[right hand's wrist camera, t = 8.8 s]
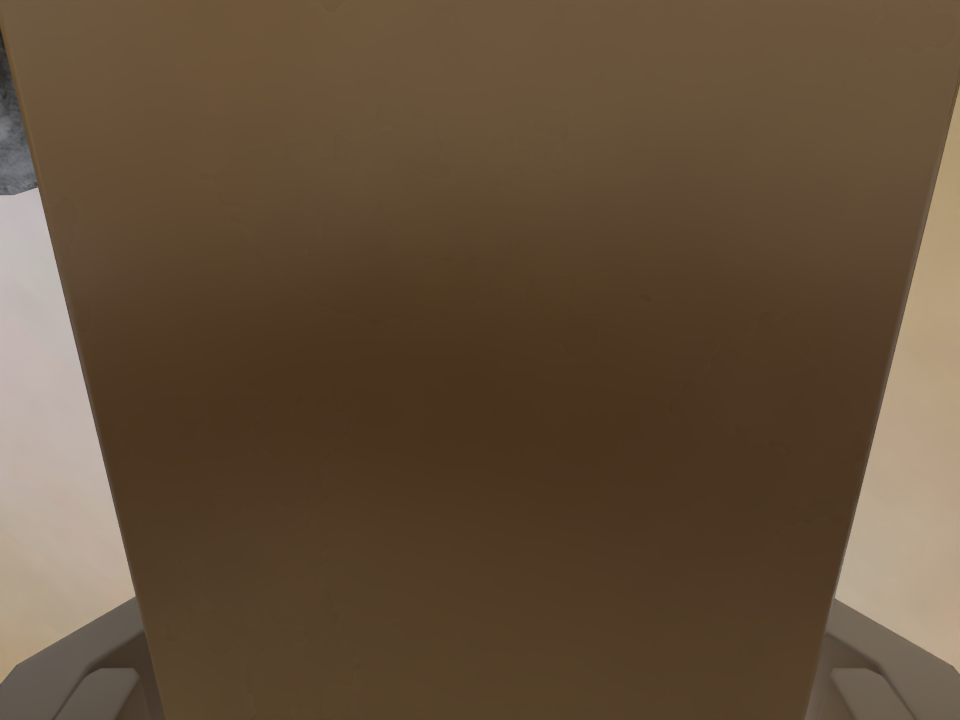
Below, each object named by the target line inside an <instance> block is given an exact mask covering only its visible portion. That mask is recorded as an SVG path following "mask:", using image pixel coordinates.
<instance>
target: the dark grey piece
mask: <svg viewBox="0 0 960 720" xmlns="http://www.w3.org/2000/svg"><path fill="white" fill-rule="evenodd" d="M37 187H38V184H37V179H36V175H35V171H34V167H33V163H32V159H31V154H30V150H29V146H28V142H27V138H26V133H25V129H24V125H23V121H22V117H21V112H20V108H19V104H18V100H17V96H16V91H15V87H14V83H13V79H12V75H11V71H10V66H9V62H8V58H7V54H6V50H5V45H4V41H3V37H2V33H1V29H0V195H15V194H18V193H21V192H25V191H28V190H31V189H34V188H37Z"/></svg>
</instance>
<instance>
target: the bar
mask: <svg viewBox="0 0 960 720" xmlns="http://www.w3.org/2000/svg"><path fill="white" fill-rule="evenodd" d="M0 29H1V33H2V37H3V41H4V45H5V50H6V54H7V58H8V62H9V66H10V71H11V75H12V79H13V83H14V87H15V91H16V96H17V100H18V104H19V108H20V112H21V117H22V121H23V125H24V129H25V133H26V138H27V142H28V146H29V150H30V154H31V159H32V163H33V167H34V171H35V175H36V179H37V184H38V188H39V192H40V196H41V200H42V205H43V209H44V213H45V217H46V221H47V226H48V230H49V234H50V238H51V242H52V247H53V251H54V255H55V259H56V263H57V267H58V272H59V276H60V280H61V284H62V288H63V293H64V297H65V301H66V305H67V309H68V314H69V318H70V322H71V326H72V330H73V335H74V339H75V343H76V347H77V351H78V355H79V360H80V364H81V368H82V372H83V376H84V381H85V385H86V389H87V393H88V397H89V402H90V406H91V410H92V414H93V418H94V423H95V427H96V431H97V435H98V439H99V443H100V448H101V452H102V456H103V460H104V464H105V469H106V473H107V477H108V481H109V485H110V490H111V494H112V498H113V502H114V506H115V511H116V515H117V519H118V523H119V527H120V531H121V536H122V540H123V544H124V548H125V552H126V557H127V561H128V565H129V569H130V573H131V578H132V582H133V586H134V590H135V594H136V599H137V603H138V607H139V611H140V615H141V620H142V624H143V628H144V632H145V636H146V640H147V645H148V649H149V653H150V657H151V661H152V666H153V670H154V674H155V678H156V682H157V687H158V691H159V695H160V699H161V703H162V708H163V712H164V716H165V720H805V716H806V712H807V708H808V704H809V700H810V696H811V691H812V687H813V683H814V679H815V675H816V671H817V667H818V663H819V659H820V655H821V651H822V646H823V642H824V638H825V634H826V630H827V626H828V622H829V618H830V614H831V610H832V605H833V601H834V597H835V593H836V589H837V585H838V581H839V577H840V573H841V569H842V565H843V560H844V556H845V552H846V548H847V544H848V540H849V536H850V532H851V528H852V524H853V519H854V515H855V511H856V507H857V503H858V499H859V495H860V491H861V487H862V483H863V478H864V474H865V470H866V466H867V462H868V458H869V454H870V450H871V446H872V442H873V438H874V433H875V429H876V425H877V421H878V417H879V413H880V409H881V405H882V401H883V397H884V392H885V388H886V384H887V380H888V376H889V372H890V368H891V364H892V360H893V356H894V352H895V347H896V343H897V339H898V335H899V331H900V327H901V323H902V319H903V315H904V311H905V306H906V302H907V298H908V294H909V290H910V286H911V282H912V278H913V274H914V270H915V266H916V261H917V257H918V253H919V249H920V245H921V241H922V237H923V233H924V229H925V225H926V220H927V216H928V212H929V208H930V204H931V200H932V196H933V192H934V188H935V184H936V180H937V175H938V171H939V167H940V163H941V159H942V155H943V151H944V147H945V143H946V139H947V134H948V130H949V126H950V122H951V118H952V114H953V110H954V106H955V102H956V98H957V93H958V89H959V85H960V0H0Z"/></svg>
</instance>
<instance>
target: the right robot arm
mask: <svg viewBox="0 0 960 720" xmlns="http://www.w3.org/2000/svg"><path fill="white" fill-rule="evenodd" d="M0 720H165V716H164V712H163V708H162V703H161V699H160V695H159V691H158V687H157V682H156V678H155V674H154V670H153V666H152V661H151V657H150V653H149V649H148V645H147V640H146V636H145V632H144V628H143V624H142V620H141V615H140V611H139V607H138V603H137V599H136V597H134V598H132V599H130V600H129V601H127V602H125V603H123V604H122V605H120V606H118V607H116V608H115V609H113V610H111V611H110V612H108V613H106V614H104V615H103V616H101V617H99V618H97V619H96V620H94V621H92V622H91V623H89V624H87V625H85V626H84V627H82V628H80V629H78V630H77V631H75V632H73V633H71V634H70V635H68V636H66V637H65V638H63V639H61V640H59V641H58V642H56V643H54V644H52V645H51V646H49V647H47V648H45V649H44V650H42V651H40V652H39V653H37V654H35V655H33V656H32V657H30V658H28V659H26V660H25V661H23V662H21V663H20V664H18V665H16V666H15V668H14V669H13V670H12V671H11V672H10V674H9V675H8V676H7V677H6V678H5V680H4V681H3V682H2V683H1V684H0ZM805 720H960V674H959V673H958V672H957V670H956V669H955V668H954V667H953V666H952V665H950V664H948V663H946V662H945V661H943V660H941V659H939V658H938V657H936V656H934V655H932V654H931V653H929V652H927V651H926V650H924V649H922V648H920V647H919V646H917V645H915V644H913V643H912V642H910V641H908V640H906V639H905V638H903V637H901V636H899V635H898V634H896V633H894V632H892V631H891V630H889V629H887V628H885V627H884V626H882V625H880V624H878V623H877V622H875V621H873V620H871V619H870V618H868V617H866V616H865V615H863V614H861V613H859V612H858V611H856V610H854V609H852V608H851V607H849V606H847V605H845V604H844V603H842V602H840V601H838V600H837V599H835V598H834V601H833V605H832V610H831V614H830V618H829V622H828V626H827V630H826V634H825V638H824V642H823V646H822V651H821V655H820V659H819V663H818V667H817V671H816V675H815V679H814V683H813V687H812V691H811V696H810V700H809V704H808V708H807V712H806V716H805Z"/></svg>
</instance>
